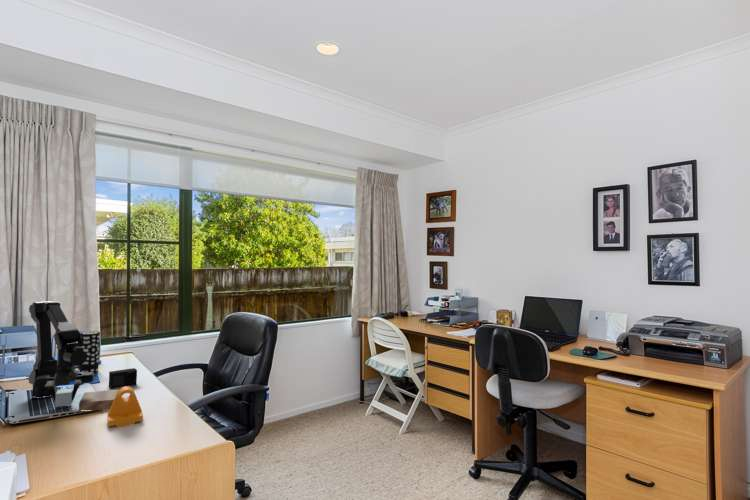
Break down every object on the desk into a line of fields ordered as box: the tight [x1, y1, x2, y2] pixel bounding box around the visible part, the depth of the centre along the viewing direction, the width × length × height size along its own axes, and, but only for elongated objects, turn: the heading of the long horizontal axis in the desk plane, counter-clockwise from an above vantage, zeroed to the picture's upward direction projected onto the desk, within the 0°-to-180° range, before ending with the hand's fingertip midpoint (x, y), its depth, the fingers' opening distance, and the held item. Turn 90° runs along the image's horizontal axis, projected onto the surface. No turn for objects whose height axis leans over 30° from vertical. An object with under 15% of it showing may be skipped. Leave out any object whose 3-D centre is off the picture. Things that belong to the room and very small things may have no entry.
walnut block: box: [78, 388, 121, 412], centre depth 169 cm, size 13×13×4 cm
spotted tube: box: [77, 330, 101, 374], centre depth 211 cm, size 8×8×20 cm
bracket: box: [106, 386, 144, 428], centre depth 154 cm, size 11×7×12 cm, turn 124°
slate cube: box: [54, 388, 74, 408], centre depth 166 cm, size 5×5×5 cm
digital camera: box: [108, 367, 138, 390], centre depth 193 cm, size 10×5×7 cm, turn 134°
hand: (64, 401), depth 166 cm, fingers closed on slate cube, 5 cm apart
